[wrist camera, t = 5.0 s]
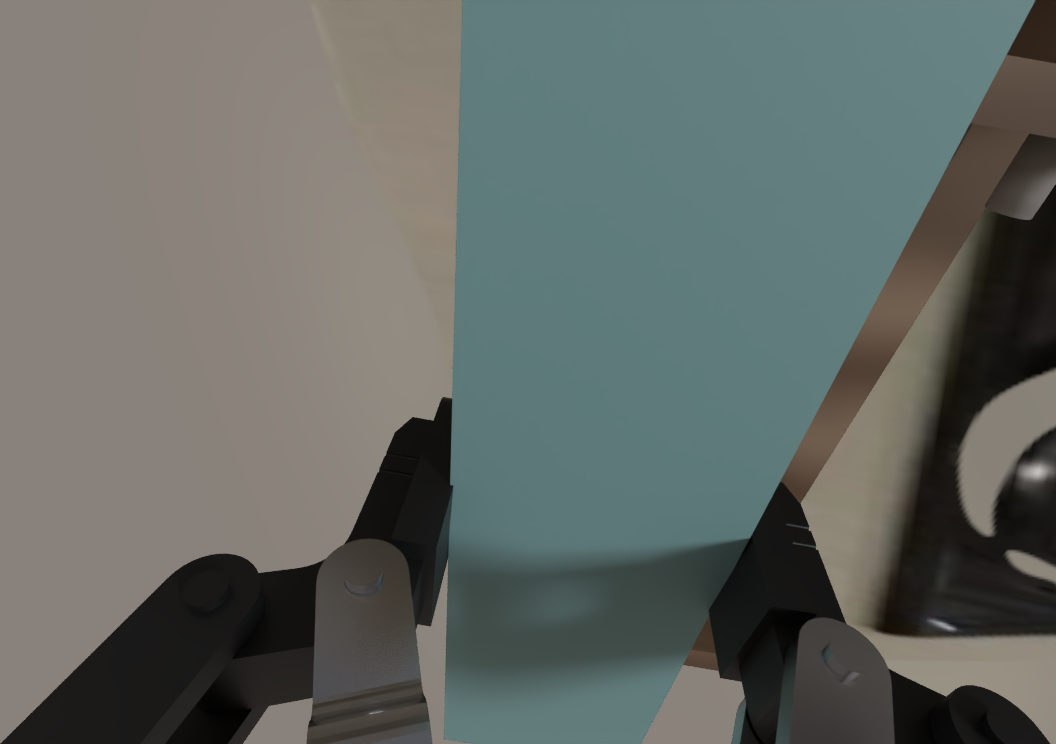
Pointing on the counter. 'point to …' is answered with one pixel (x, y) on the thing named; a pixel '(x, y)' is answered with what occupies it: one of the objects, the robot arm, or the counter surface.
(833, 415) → the rack
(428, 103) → the counter surface
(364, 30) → the counter surface
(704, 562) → the teal rectangular block
